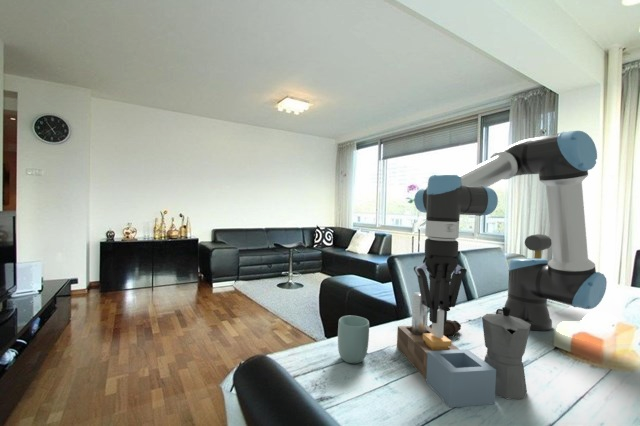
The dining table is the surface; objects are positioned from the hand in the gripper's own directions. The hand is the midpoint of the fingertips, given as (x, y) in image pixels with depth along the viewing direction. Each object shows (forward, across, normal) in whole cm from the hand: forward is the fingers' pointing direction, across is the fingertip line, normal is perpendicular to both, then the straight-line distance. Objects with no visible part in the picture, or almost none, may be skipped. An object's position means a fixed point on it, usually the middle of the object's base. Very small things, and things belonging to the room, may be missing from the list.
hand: (437, 335), depth 75 cm
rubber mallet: (+9, +81, +53) cm, 97 cm away
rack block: (+8, 0, -9) cm, 12 cm away
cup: (+9, -19, +7) cm, 22 cm away
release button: (+7, 0, 0) cm, 7 cm away
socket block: (+8, 0, +4) cm, 9 cm away
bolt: (+9, +14, +18) cm, 24 cm away
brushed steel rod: (+8, 0, +9) cm, 12 cm away
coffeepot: (+9, +12, -8) cm, 16 cm away
